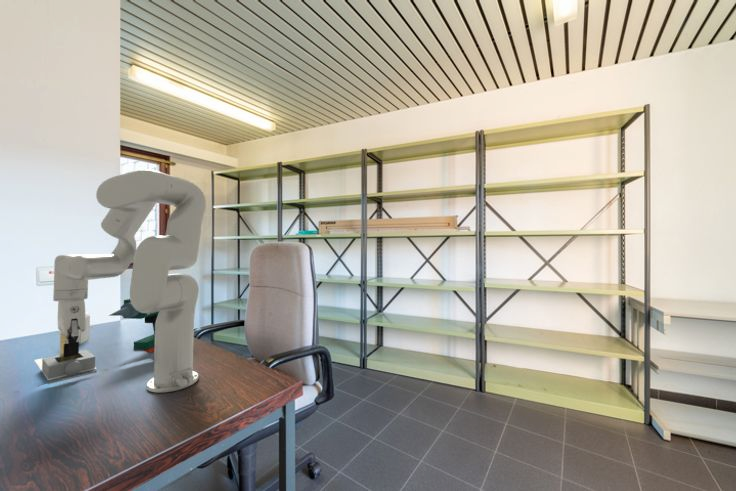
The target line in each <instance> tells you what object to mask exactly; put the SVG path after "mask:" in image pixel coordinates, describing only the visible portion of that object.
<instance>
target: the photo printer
mask: <svg viewBox="0 0 736 491" xmlns="http://www.w3.org/2000/svg"><path fill="white" fill-rule="evenodd" d="M85 318H86V330H85V331H83V332H82V331H81V330H79V329H78V330H79V345H81V344H84V343H85V342H87V341H89V340H90V334H91V333H90V330H91V329H90V328H91V327H90V326H91V316H90V313H88V312H87V311H85Z"/></svg>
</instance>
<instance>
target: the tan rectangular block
mask: <svg viewBox="0 0 736 491" xmlns="http://www.w3.org/2000/svg"><path fill="white" fill-rule="evenodd" d="M68 333H71V331H68ZM69 336H71V335H69ZM59 339H60V340H59V355H60V362H62V361H67V360H72V359H77V358H78V355H75V356H70V357H64V344H65V334H64V333H62V332H61V331H60V338H59Z"/></svg>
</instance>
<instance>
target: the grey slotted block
mask: <svg viewBox="0 0 736 491" xmlns="http://www.w3.org/2000/svg"><path fill="white" fill-rule="evenodd" d="M33 361H34V362H35V363H36V365H37V366H38V368H39V370H40V371H41V372H42V374H43V375H44V376H45V378H46V379H47V381H50V382H47V385H51V384H55V383H60V382H62V381H63V382H64V381H67V380H71V379H75V378H79V377H83V376H84V377H85V376H86V375H87V376H88V375H92V374H96V373H97V367H96V355H94V354H93V353H92V352H91V351H89V350H88V349H83V350H79V354H78V358H77V359H72V360H67V361H62V362H60V354H57V355H52V356H49V357H42V358H38V359H34V360H33ZM92 370H93V371H92ZM88 371H89V372H88ZM90 371H91V372H90ZM81 373H82V374H81ZM67 376H70V377H67ZM63 377H66V378H63ZM59 378H61V379H59ZM54 379H55V380H54ZM56 379H57V380H56ZM51 380H53V381H51Z"/></svg>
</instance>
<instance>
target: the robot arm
mask: <svg viewBox="0 0 736 491" xmlns="http://www.w3.org/2000/svg"><path fill="white" fill-rule="evenodd" d="M95 195H96V196H95V197H96V200H97V202H98V204H100V205H101V206H102V207H104V208H106V209H109V211H108V212H107V214H106V215H105V217H104V218H103V219H102V221H101V222H100V228H101V229H102V230H103V231H104V232H105V233H106V234H108V235H109V236H111V237H113V238H115V239H117V244H116V246H115V247H114V249H113V251H111V252H110V253H103V254H101V253H100V254H60V255H57V256H56V257H55V258H54V264H53V265H54V267H53V268H54V270H53V298H52V299H53V302H58V304H57V329H58V331H60V333H61V332H62V333H64V334H65V344H64V357H70V356H75V355H78V354H79V351H80V350H79V349H80V344H79V330H81V331H82V332H83V331H85V330H86V318H85V312H86V302H85V300H86V299H88V296H89V294H88V293H89V280H98V279H99V280H100V279H109V278H115V277H116V278H117V277H119V276H120V275H122V274H123V273H124V272H125V271H126V270H127V269H128V268H129V266H130V265H131V263H133V264H132V271H131V278H130V279H131V280H130V285H129V286H130V287H129V299H130V301H131V304H132V306H133V307H134V308H135V309H136V310H137V311H139V312H141V313H154V312H158V311H159V314H158V316H157V319H156V324H155V348H154V351H153V352H154V354H153V356H154V357H153V377H152V378H150V380H148V382H147V383H146V389H147V391H149V392H152V393H156V394H157V393H158V394H159V393H161V394H162V393H170V392H175V391H180V390H183V389H185V388H188V387H190V386H192V385H195V384H196V382H197V381H199V373H198V372H197V371H195V370H193V369H194V337H195V331H194V330H195V314H196V312H195V311H196V307H197V306H196V305H197V302H198V297H199V284H198V282H197V280H196V279H195V278H194V277H193V276H192V275H189V274H186V273H169V271H180V270H185V269H190V268H191V267H193V266H195V264H196V263H197V260H198V257H199V256H198V255H199V246H200V242H201V241H200V240H201V233H202V225H203V219H204V215H205V212H206V206H207V205H206V203H207V202H206V201H207V200H206V196H205V194H204V192H203V190H202V189H201V188H200V187H199V186H198V185H197V184H195V183H193V182H191V181H189V180H188V179H185V178H181V177H178V176H177V175H176V176H174V175H172V174H168V173H164V172H162V171H158V170H154V169H145V168H144V169H139V170H135V171H130V172H126V173H122V174H118V175H115V176H112V177H109V178H107V179H106V180H104V181H102V183H100V185H99V186H98V187H97V190H96V194H95ZM156 204H161V205H167V206H173V207H175V208H174V210H173V211H172V212H171V214H170V215H169V217H168V219H167V223H166V230H165V235H151V236H148V237H147V238H144V239H143V240H142V241H141V242H140V243H139V245H138V246H137V242H136V238H135V235H136V234H137V233H138V231H139V229H140V228H141V227H142V225H143V223H144V222H145V221H146V219H147V218H148V216H149V215H150V213H151V212H152V211H153V209H154V207H155V206H156ZM78 329H79V330H78ZM68 331H71V333H68ZM69 335H71V336H69Z"/></svg>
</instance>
